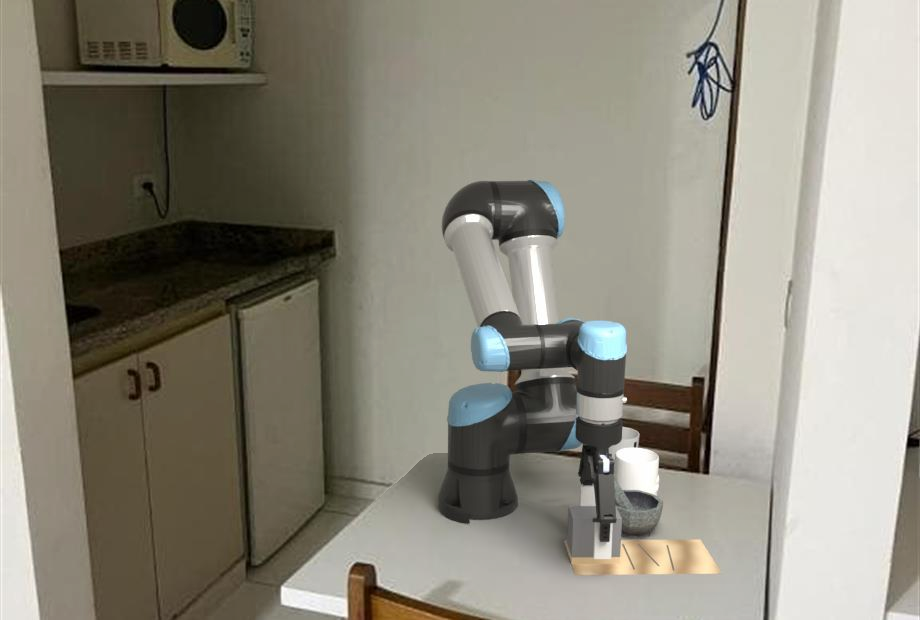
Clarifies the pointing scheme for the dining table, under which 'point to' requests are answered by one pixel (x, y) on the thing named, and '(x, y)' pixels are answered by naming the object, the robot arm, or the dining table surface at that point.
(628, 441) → the cup
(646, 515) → the mortar and pestle
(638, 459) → the mug
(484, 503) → the robot arm
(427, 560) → the dining table surface
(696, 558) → the board
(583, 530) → the block
